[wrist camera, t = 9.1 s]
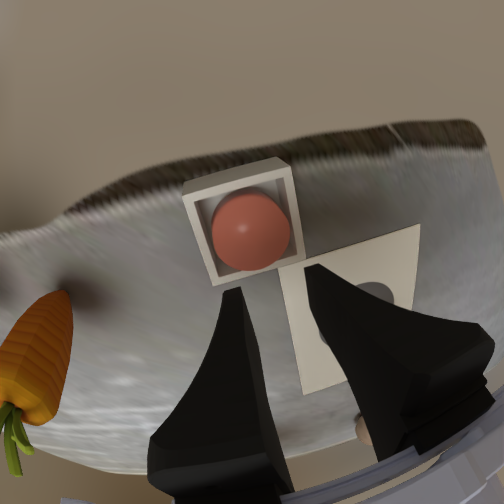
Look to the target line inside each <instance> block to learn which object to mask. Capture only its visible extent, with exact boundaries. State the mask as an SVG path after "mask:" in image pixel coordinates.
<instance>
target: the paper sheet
mask: <svg viewBox="0 0 504 504" xmlns="http://www.w3.org/2000/svg"><path fill="white" fill-rule="evenodd" d="M419 238H420V223H419V224H416V225H413V226H410V227H407V228H404V229H401V230H398V231H394V232H391V233H388V234H385V235H382V236H379V237H376V238H373V239H369V240H366V241H363V242H360V243H357V244H353V245H350V246H347V247H344V248H340V249H337V250H334V251H331V252H327V253H324V254H321V255H318V256H314V257H311V258H308V259H305V260H302V261H299V262H295V263H292V264H288V265H285V266H282V267H278V273H279V277H280V282H281V287H282V291H283V296H284V301H285V306H286V311H287V315H288V320H289V325H290V330H291V335H292V340H293V345H294V350H295V355H296V360H297V365H298V370H299V376H300V381H301V386H302V391H303V396H304V395H307V394H310V393H313V392H316V391H319V390H322V389H324V388H327V387H330V386H333V385H335V384H338V383H341V382H344V381H346V380H347V378H346V376H345V374H344V372H343V370H342V368H341V366H340V365H339V363H338V361H337V360H336V358H335V356H334V354H333V353H332V351H331V349H330V348H329V346H328V344H327V342H326V341H325V339H324V337H323V336H322V334H321V332H320V330H319V329H318V326H317V324H316V322H315V320H314V317H313V315H312V312H311V310H310V308H309V301H308V294H307V287H306V280H305V274H304V267H307V266H311V265H314V264H317V263H319V264H321V265H322V266H324V267H326V268H327V269H329V270H330V271H332V272H333V273H335V274H337V275H338V276H340V277H341V278H343V279H345V280H346V281H348V282H350V283H351V284H353V285H355V286H357V287H358V288H360V289H362V290H364V291H366V292H368V293H370V294H372V295H374V296H376V297H378V298H380V299H382V300H384V301H387V302H389V303H392V304H394V305H397V306H399V307H402V308H405V309H408V310H411V309H412V303H413V296H414V289H415V281H416V272H417V263H418V252H419Z"/></svg>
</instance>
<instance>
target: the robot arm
mask: <svg viewBox="0 0 504 504" xmlns="http://www.w3.org/2000/svg"><path fill="white" fill-rule="evenodd" d="M304 274H305V280H306V287H307V294H308V301H309V308H310V310H311V312H312V315H313V317H314V320H315V322H316V324H317V326H318V329H319V330H320V332H321V334H322V336H323V337H324V339H325V341H326V342H327V344H328V346H329V348H330V349H331V351H332V353H333V354H334V356H335V358H336V360H337V361H338V363H339V365H340V366H341V368H342V370H343V372H344V374H345V376H346V378H347V380H348V382H349V385H350V387H351V389H352V392H353V394H354V396H355V399H356V401H357V404H358V406H359V409H360V411H361V414H362V416H363V419H364V422H365V424H366V427H367V430H368V433H369V435H370V438H371V441H372V444H373V447H374V450H375V453H376V456H377V460H378V463H376V464H374V465H371V466H369V467H367V468H365V469H362V470H359V471H357V472H355V473H352V474H349V475H347V476H344V477H341V478H338V479H335V480H333V481H330V482H327V483H324V484H321V485H318V486H314V487H311V488H308V489H304V490H301V491H297V492H295V490H294V487H293V484H292V481H291V477H290V474H289V471H288V468H287V465H286V462H285V458H284V455H283V452H282V448H281V445H280V441H279V438H278V435H277V431H276V428H275V424H274V421H273V417H272V414H271V410H270V407H269V403H268V398H267V394H266V388H265V382H264V376H263V370H262V364H261V358H260V352H259V346H258V343H257V339H256V336H255V332H254V328H253V325H252V322H251V319H250V315H249V312H248V309H247V306H246V303H245V300H244V296H243V293H242V290H241V287H236V288H233V289H229V290H226V291H224V293H223V296H222V303H221V308H220V313H219V317H218V320H217V324H216V328H215V331H214V334H213V337H212V339H211V342H210V345H209V348H208V350H207V353H206V355H205V357H204V360H203V362H202V364H201V366H200V368H199V370H198V372H197V374H196V376H195V377H194V379H193V381H192V383H191V385H190V386H189V388H188V390H187V391H186V393H185V394H184V396H183V397H182V399H181V400H180V401H179V403H178V404H177V406H176V407H175V409H174V410H173V411H172V413H171V414H170V415H169V417H168V418H167V419H166V420H165V421H164V422H163V424H162V425H161V426H160V427H159V428H158V429H157V431H156V432H155V433H154V434H153V435H152V436H151V437H150V442H149V448H148V455H147V478H148V481H149V483H150V484H151V485H153V486H154V487H155V488H157V489H159V490H161V491H163V492H165V493H166V494H169V495H170V496H173V497H174V499H173V500H172V504H333V503H336V502H338V501H341V500H344V499H347V498H350V497H352V496H355V495H357V494H360V493H363V492H365V491H367V490H370V489H372V488H374V487H377V486H379V485H381V484H384V483H386V482H388V481H390V480H392V479H394V478H396V477H398V476H400V475H402V474H404V473H406V472H408V471H410V470H412V469H414V468H416V467H418V466H419V465H421V464H423V463H425V462H426V461H428V460H430V459H431V458H433V457H435V456H437V455H438V454H440V453H442V452H443V451H445V450H446V449H448V448H449V449H448V450H446V451H445V452H444V453H442V454H441V455H440V457H439V459H438V460H437V461H436V462H435V463H434V464H433V465H432V466H431V467H430V468H429V469H428V470H426V471H425V472H423V473H421V474H419V475H417V476H415V477H413V478H411V479H409V480H407V481H405V482H403V483H401V484H399V485H397V486H395V487H393V488H391V489H388V490H386V491H384V492H382V493H380V494H377V495H375V496H373V497H370V498H368V499H366V500H364V501H361V502H358V503H356V504H504V488H503V485H502V484H501V482H500V480H499V478H498V476H497V474H496V472H497V471H498V470H500V469H501V468H502V467H503V466H504V385H503V386H501V387H500V388H499V389H498V390H496V391H495V392H494V393H493V394H490V392H489V391H488V389H487V388H486V387H485V385H486V384H487V379H486V378H485V377H484V376H483V372H484V370H485V369H486V367H487V365H488V363H489V361H490V359H491V357H492V355H493V352H494V348H495V342H494V340H493V339H492V338H491V337H490V336H489V335H488V334H487V333H486V331H485V330H484V329H483V328H482V327H481V326H480V325H479V324H478V323H471V322H462V321H453V320H447V319H442V318H437V317H433V316H429V315H425V314H421V313H418V312H414V311H411V310H408V309H405V308H402V307H399V306H397V305H394V304H392V303H389V302H387V301H384V300H382V299H380V298H378V297H376V296H374V295H372V294H370V293H368V292H366V291H364V290H362V289H360V288H358V287H357V286H355V285H353V284H351V283H350V282H348V281H346V280H345V279H343V278H341V277H340V276H338V275H337V274H335V273H333V272H332V271H330V270H329V269H327V268H326V267H324V266H322V265H321V264H319V263H317V264H314V265H311V266H307V267H304ZM451 446H452V447H451ZM61 504H94V503H92V502H88V501H83V500H77V499H69V498H64V497H62V498H61Z"/></svg>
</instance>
